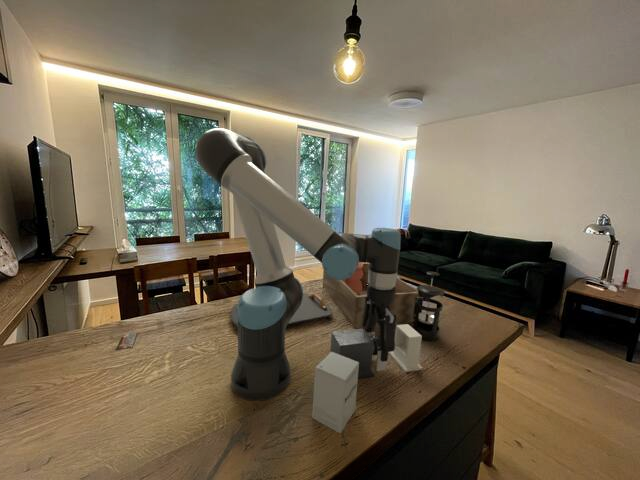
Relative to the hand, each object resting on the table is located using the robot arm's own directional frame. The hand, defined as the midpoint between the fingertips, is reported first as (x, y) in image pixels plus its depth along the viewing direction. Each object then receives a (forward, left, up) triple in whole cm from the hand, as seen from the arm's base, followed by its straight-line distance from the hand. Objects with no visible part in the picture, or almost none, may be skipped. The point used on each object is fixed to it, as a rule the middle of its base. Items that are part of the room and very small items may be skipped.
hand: (374, 360), depth 79 cm
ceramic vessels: (+16, +40, -2) cm, 43 cm away
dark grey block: (-8, 0, -2) cm, 8 cm away
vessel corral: (+16, +42, -2) cm, 45 cm away
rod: (-3, 0, +2) cm, 4 cm away
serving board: (-22, +36, -2) cm, 42 cm away
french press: (+26, +13, -2) cm, 29 cm away
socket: (+10, 0, -2) cm, 10 cm away
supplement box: (-17, -14, -2) cm, 22 cm away
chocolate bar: (-71, +27, -2) cm, 76 cm away
